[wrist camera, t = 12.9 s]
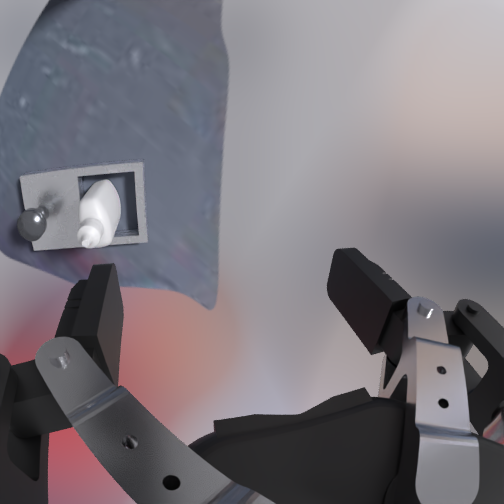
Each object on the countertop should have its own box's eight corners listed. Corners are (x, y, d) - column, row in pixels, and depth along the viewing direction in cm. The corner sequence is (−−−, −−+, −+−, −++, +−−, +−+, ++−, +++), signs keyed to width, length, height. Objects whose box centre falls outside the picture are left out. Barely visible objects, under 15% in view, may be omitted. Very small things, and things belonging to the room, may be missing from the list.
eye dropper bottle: (87, 217, 35) (61, 265, 25) (95, 175, 33) (67, 209, 23) (118, 224, 37) (103, 275, 27) (128, 183, 35) (112, 220, 25)
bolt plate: (26, 172, 30) (4, 186, 25) (144, 158, 34) (139, 170, 29) (38, 243, 35) (23, 267, 29) (148, 235, 39) (146, 258, 33)
